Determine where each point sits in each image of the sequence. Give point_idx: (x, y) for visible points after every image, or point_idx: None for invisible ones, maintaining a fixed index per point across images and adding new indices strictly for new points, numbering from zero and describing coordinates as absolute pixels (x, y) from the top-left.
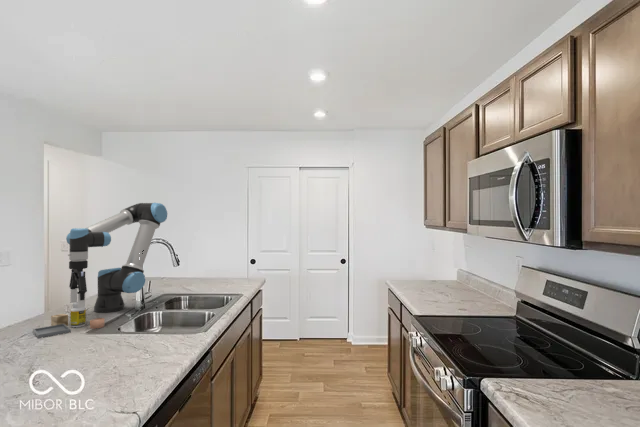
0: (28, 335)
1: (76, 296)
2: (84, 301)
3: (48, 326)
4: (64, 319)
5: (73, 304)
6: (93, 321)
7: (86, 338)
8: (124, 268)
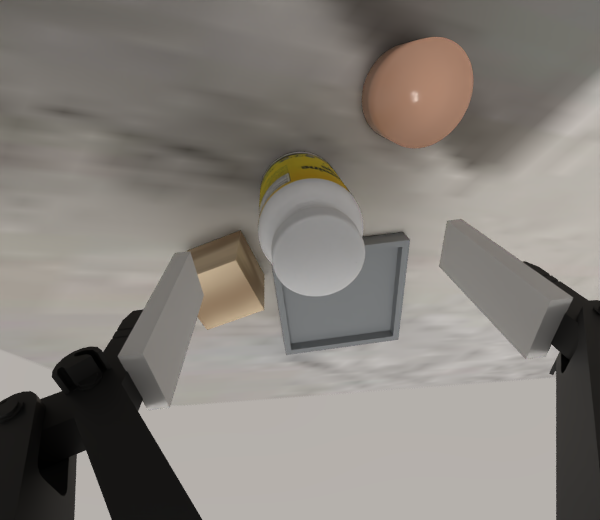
0: (320, 352)
1: (175, 290)
2: (491, 245)
3: (280, 312)
4: (246, 264)
5: (336, 290)
6: (450, 130)
7: (569, 185)
8: None
